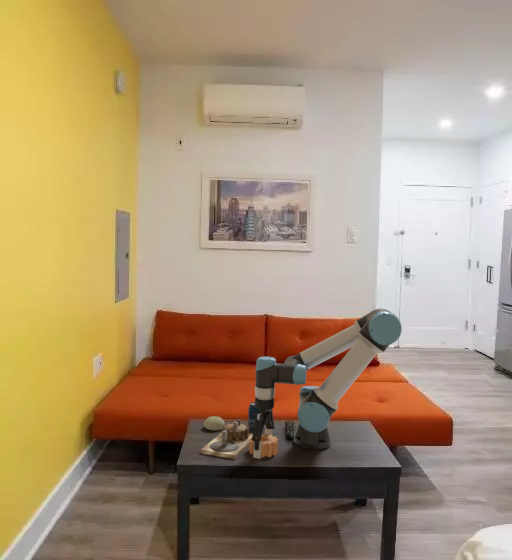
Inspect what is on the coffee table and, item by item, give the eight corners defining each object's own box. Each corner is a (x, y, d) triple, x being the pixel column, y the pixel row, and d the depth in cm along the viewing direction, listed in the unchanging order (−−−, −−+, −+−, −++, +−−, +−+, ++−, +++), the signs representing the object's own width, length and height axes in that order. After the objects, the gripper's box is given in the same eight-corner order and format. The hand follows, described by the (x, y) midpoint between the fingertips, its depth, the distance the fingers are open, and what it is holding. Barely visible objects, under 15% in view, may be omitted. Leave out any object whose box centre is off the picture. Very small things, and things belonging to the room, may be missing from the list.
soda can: (245, 432, 213) (246, 404, 213) (251, 427, 220) (251, 400, 219) (260, 434, 211) (261, 406, 210) (265, 429, 217) (266, 402, 217)
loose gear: (281, 448, 195) (281, 436, 195) (272, 459, 185) (273, 446, 185) (254, 444, 199) (255, 432, 199) (245, 454, 188) (245, 441, 188)
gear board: (256, 437, 207) (256, 420, 206) (235, 459, 184) (235, 439, 184) (225, 433, 211) (225, 415, 211) (200, 453, 188) (201, 434, 188)
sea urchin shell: (226, 420, 222) (225, 411, 216) (224, 437, 217) (222, 428, 211) (206, 419, 223) (204, 410, 217) (203, 435, 218) (201, 427, 212)
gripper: (265, 388, 204) (263, 439, 205) (244, 404, 180) (242, 461, 181) (283, 390, 201) (281, 441, 202) (263, 407, 178) (261, 465, 179)
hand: (262, 451), depth 192 cm, fingers open, 13 cm apart
